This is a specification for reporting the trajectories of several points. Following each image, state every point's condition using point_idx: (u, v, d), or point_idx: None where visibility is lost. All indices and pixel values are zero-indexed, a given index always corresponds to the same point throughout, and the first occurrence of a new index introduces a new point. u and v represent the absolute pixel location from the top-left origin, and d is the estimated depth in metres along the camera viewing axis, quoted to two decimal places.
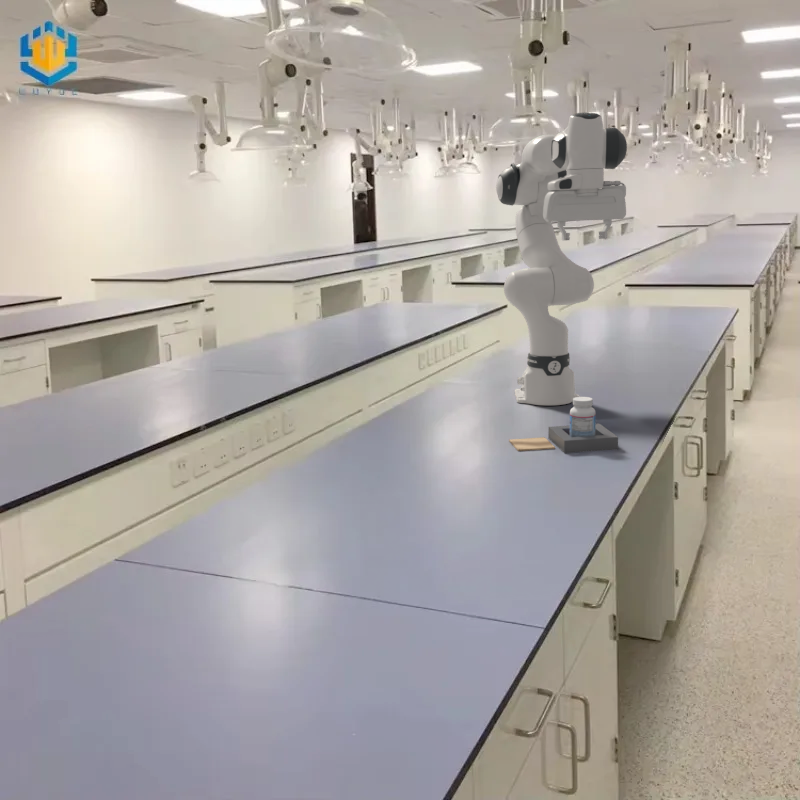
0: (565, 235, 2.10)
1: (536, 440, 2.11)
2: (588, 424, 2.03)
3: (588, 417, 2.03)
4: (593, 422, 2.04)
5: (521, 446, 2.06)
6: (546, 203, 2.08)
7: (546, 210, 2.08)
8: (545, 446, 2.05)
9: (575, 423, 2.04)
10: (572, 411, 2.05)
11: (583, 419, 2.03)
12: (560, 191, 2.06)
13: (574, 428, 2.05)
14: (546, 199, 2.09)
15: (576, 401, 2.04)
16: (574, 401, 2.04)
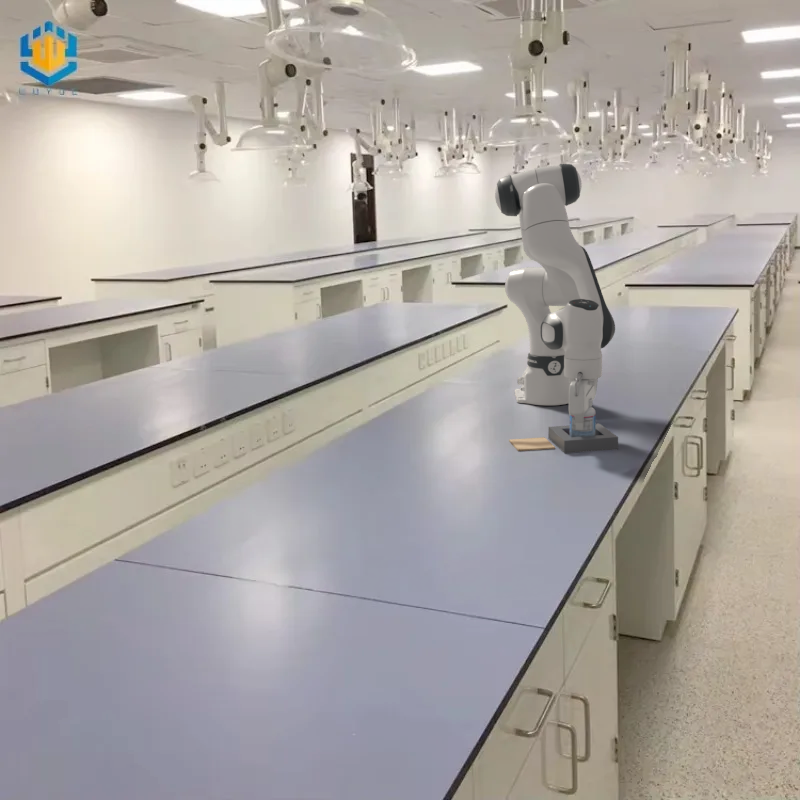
0: None
1: (536, 440, 2.11)
2: (588, 424, 2.03)
3: (588, 417, 2.03)
4: (593, 422, 2.04)
5: (521, 446, 2.06)
6: None
7: None
8: (545, 446, 2.05)
9: (575, 423, 2.04)
10: None
11: None
12: None
13: (574, 428, 2.05)
14: None
15: None
16: None
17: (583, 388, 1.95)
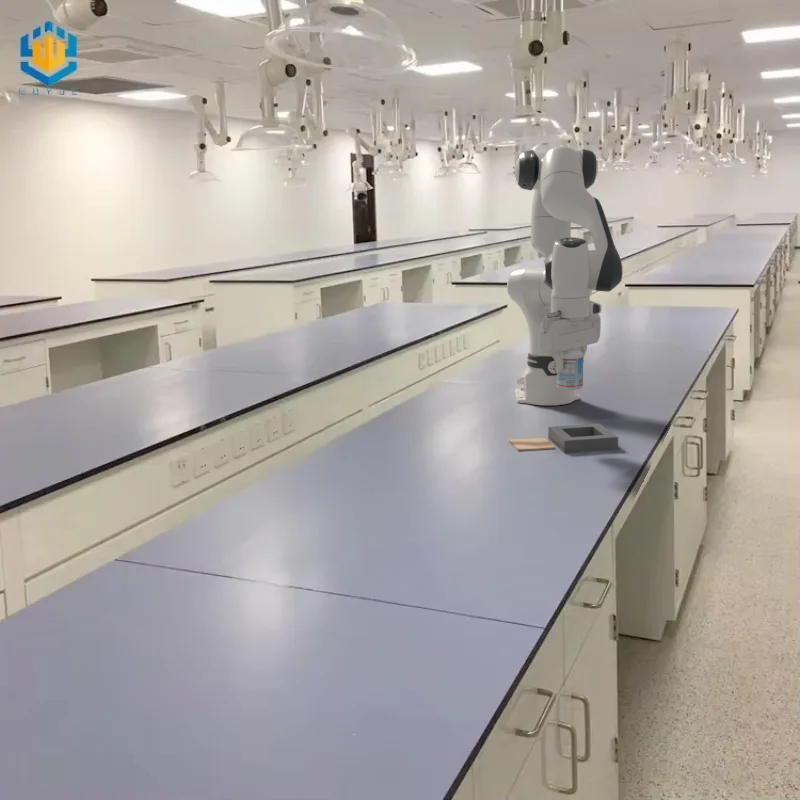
0: None
1: (536, 440, 2.11)
2: (570, 367, 2.00)
3: (570, 360, 2.00)
4: (577, 365, 2.00)
5: (521, 446, 2.06)
6: None
7: None
8: (545, 446, 2.05)
9: None
10: None
11: (564, 361, 2.01)
12: None
13: (558, 370, 2.03)
14: None
15: None
16: None
17: (552, 325, 1.94)
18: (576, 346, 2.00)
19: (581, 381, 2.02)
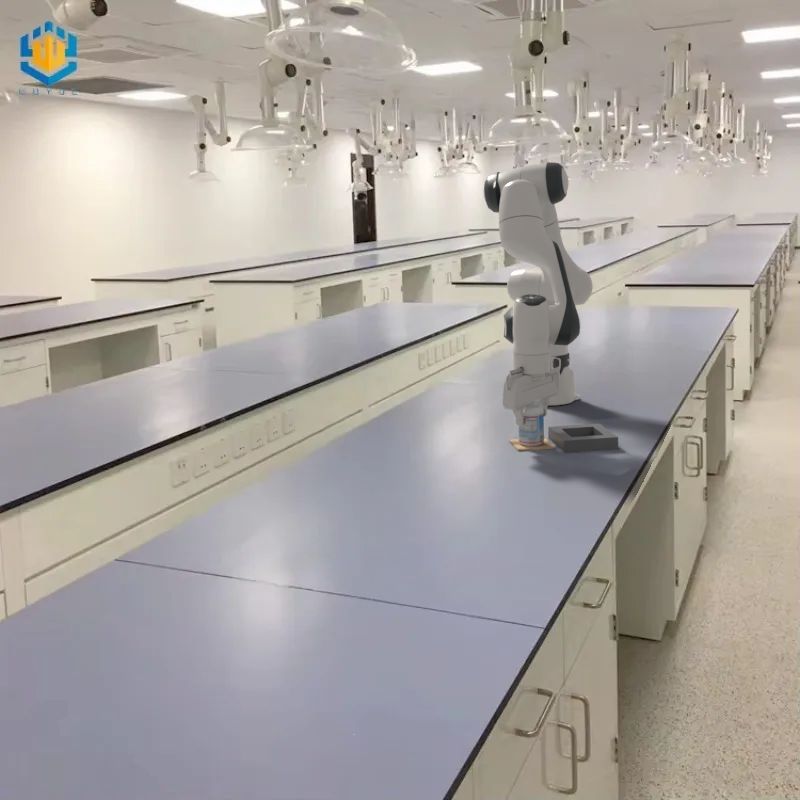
0: None
1: None
2: (531, 424, 2.04)
3: (531, 417, 2.03)
4: (538, 422, 2.04)
5: (521, 446, 2.06)
6: None
7: None
8: (545, 446, 2.05)
9: None
10: None
11: (526, 418, 2.04)
12: None
13: (520, 427, 2.06)
14: None
15: None
16: None
17: (515, 382, 1.97)
18: (537, 403, 2.04)
19: (542, 437, 2.06)
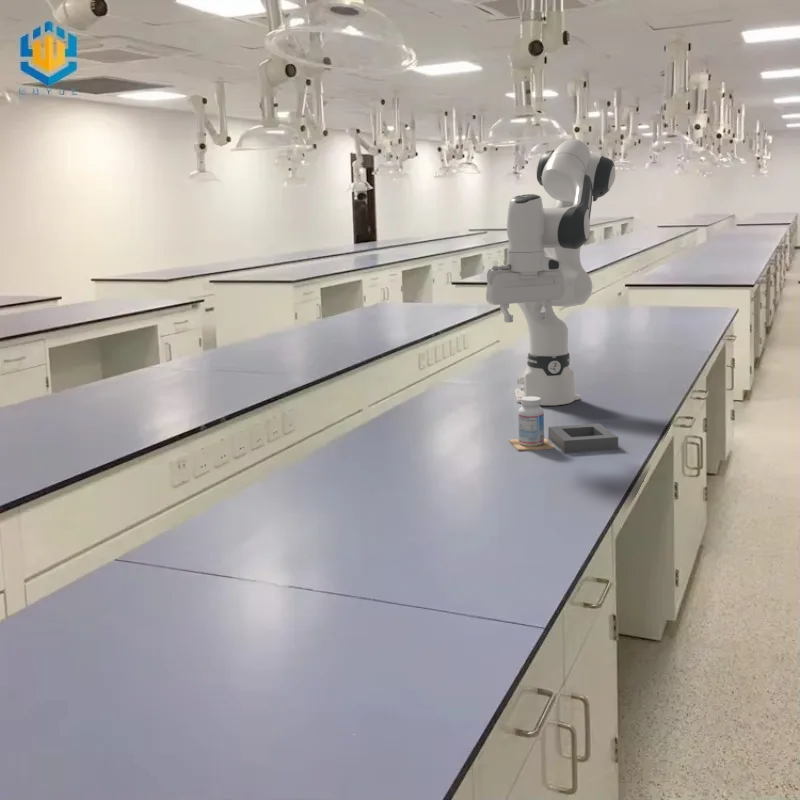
0: None
1: None
2: (531, 424, 2.04)
3: (531, 417, 2.03)
4: (538, 422, 2.04)
5: (521, 446, 2.06)
6: None
7: None
8: (545, 446, 2.05)
9: (520, 422, 2.05)
10: (519, 410, 2.06)
11: (526, 418, 2.04)
12: None
13: (520, 427, 2.06)
14: None
15: (522, 400, 2.05)
16: (521, 400, 2.05)
17: (495, 277, 2.03)
18: (537, 403, 2.04)
19: (542, 437, 2.06)
